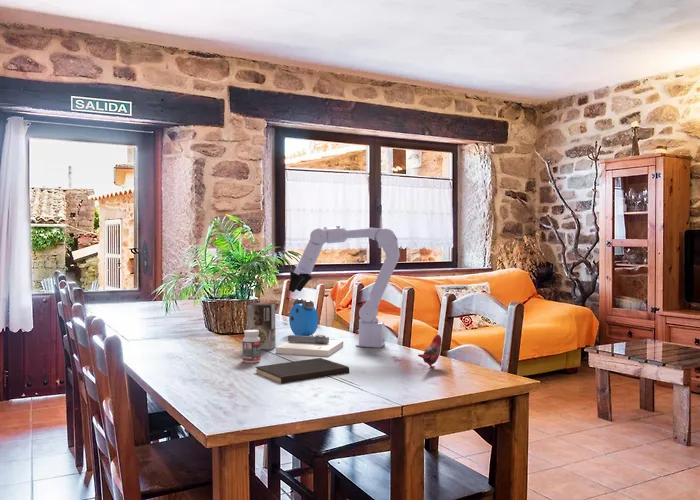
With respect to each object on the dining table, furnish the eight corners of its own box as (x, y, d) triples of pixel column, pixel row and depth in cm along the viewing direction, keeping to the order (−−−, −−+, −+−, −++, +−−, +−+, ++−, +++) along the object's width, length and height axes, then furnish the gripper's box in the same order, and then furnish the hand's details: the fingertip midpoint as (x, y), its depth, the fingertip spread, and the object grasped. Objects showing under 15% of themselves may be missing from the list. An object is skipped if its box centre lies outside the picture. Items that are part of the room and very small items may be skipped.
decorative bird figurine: (444, 365, 184) (445, 333, 184) (422, 376, 169) (422, 342, 169) (436, 364, 186) (436, 333, 186) (413, 375, 171) (413, 341, 170)
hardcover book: (255, 374, 173) (255, 366, 173) (320, 364, 187) (320, 357, 186) (281, 385, 160) (281, 377, 160) (349, 374, 174) (349, 366, 173)
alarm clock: (318, 337, 233) (318, 300, 233) (305, 339, 230) (306, 301, 229) (300, 333, 244) (300, 297, 243) (288, 334, 240) (288, 298, 240)
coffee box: (276, 346, 214) (276, 302, 214) (271, 349, 208) (272, 304, 207) (251, 345, 215) (251, 302, 214) (246, 349, 208) (247, 304, 208)
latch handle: (329, 342, 211) (329, 335, 211) (326, 343, 207) (326, 337, 207) (290, 340, 214) (290, 333, 214) (287, 341, 211) (287, 335, 211)
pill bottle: (256, 363, 185) (256, 332, 185) (239, 362, 186) (239, 331, 186) (262, 359, 191) (262, 329, 190) (246, 359, 192) (246, 329, 192)
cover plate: (343, 346, 215) (343, 340, 215) (328, 356, 197) (328, 350, 197) (294, 343, 220) (294, 337, 220) (275, 353, 202) (275, 347, 202)
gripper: (306, 254, 228) (292, 285, 229) (293, 253, 214) (278, 286, 215) (321, 261, 226) (307, 293, 227) (310, 261, 212) (294, 295, 213)
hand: (294, 290), depth 221 cm, fingers open, 7 cm apart
